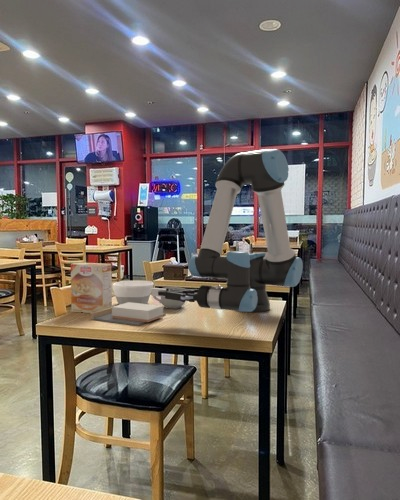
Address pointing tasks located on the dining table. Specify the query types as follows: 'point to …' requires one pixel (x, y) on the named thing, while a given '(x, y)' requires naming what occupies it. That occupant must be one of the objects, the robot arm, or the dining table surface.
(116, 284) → the bowl
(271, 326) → the dining table surface
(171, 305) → the teacup
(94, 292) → the coffeecake box
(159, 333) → the dining table surface
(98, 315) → the slate board
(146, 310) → the tile
